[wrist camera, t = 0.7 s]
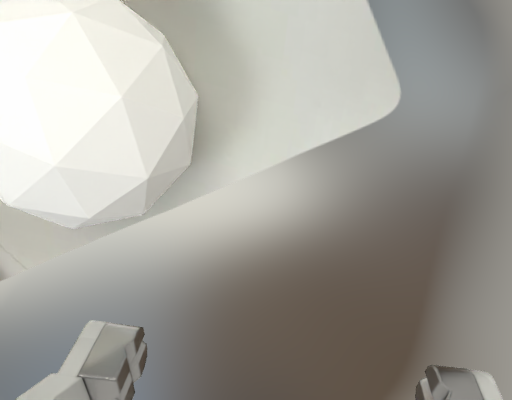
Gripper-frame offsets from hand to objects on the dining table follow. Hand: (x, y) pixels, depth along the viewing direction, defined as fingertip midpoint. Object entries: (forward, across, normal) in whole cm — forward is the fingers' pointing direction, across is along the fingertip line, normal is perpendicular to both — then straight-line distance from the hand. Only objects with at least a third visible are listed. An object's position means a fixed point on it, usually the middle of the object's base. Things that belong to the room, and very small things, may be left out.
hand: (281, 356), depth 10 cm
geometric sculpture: (+32, +17, +3) cm, 37 cm away
